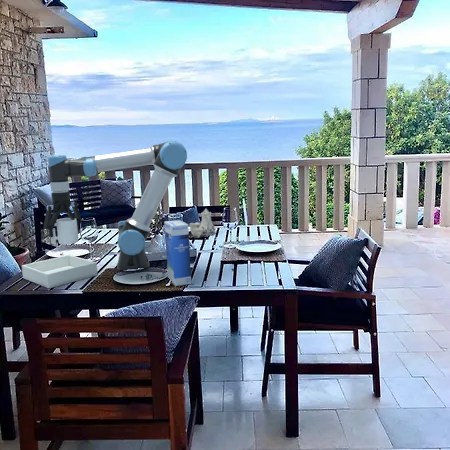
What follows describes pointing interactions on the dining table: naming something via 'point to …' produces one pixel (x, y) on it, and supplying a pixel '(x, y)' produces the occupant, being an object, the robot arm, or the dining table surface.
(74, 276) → the box
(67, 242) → the cup
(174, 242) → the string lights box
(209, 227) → the chinaware
